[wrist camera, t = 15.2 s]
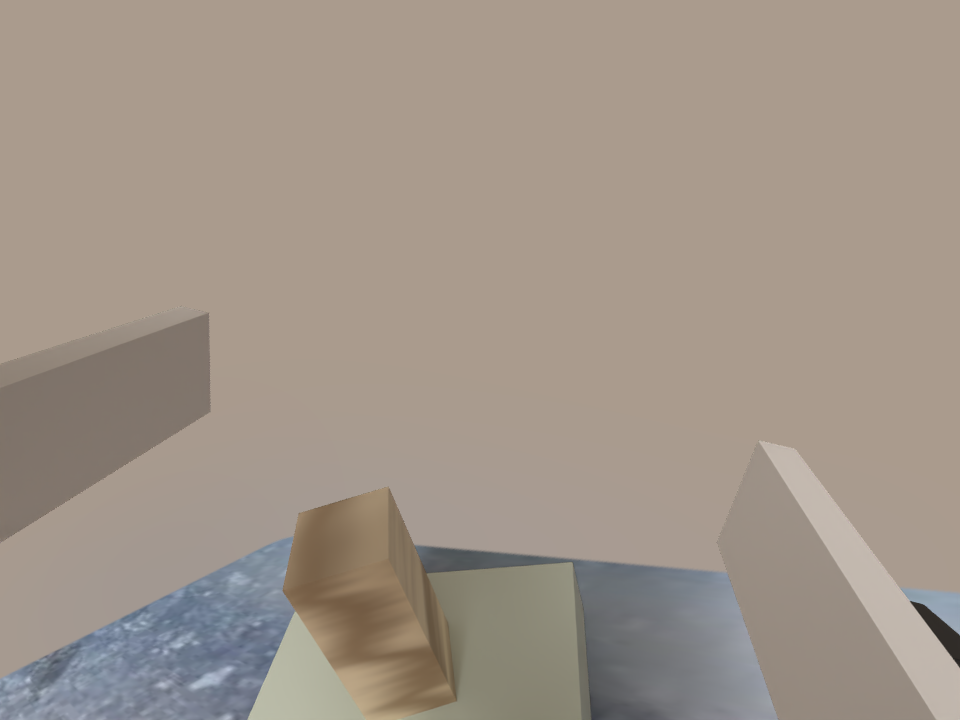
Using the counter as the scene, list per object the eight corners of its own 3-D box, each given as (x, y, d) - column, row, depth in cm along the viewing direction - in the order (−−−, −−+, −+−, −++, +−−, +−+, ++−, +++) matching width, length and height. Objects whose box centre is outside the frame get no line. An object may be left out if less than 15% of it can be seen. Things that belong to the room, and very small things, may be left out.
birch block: (447, 623, 34) (388, 486, 29) (456, 701, 30) (388, 558, 24) (373, 645, 34) (298, 513, 29) (371, 727, 30) (282, 590, 24)
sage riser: (583, 608, 38) (572, 562, 36) (601, 863, 26) (587, 819, 24) (332, 623, 43) (307, 582, 40) (249, 849, 31) (207, 811, 28)
